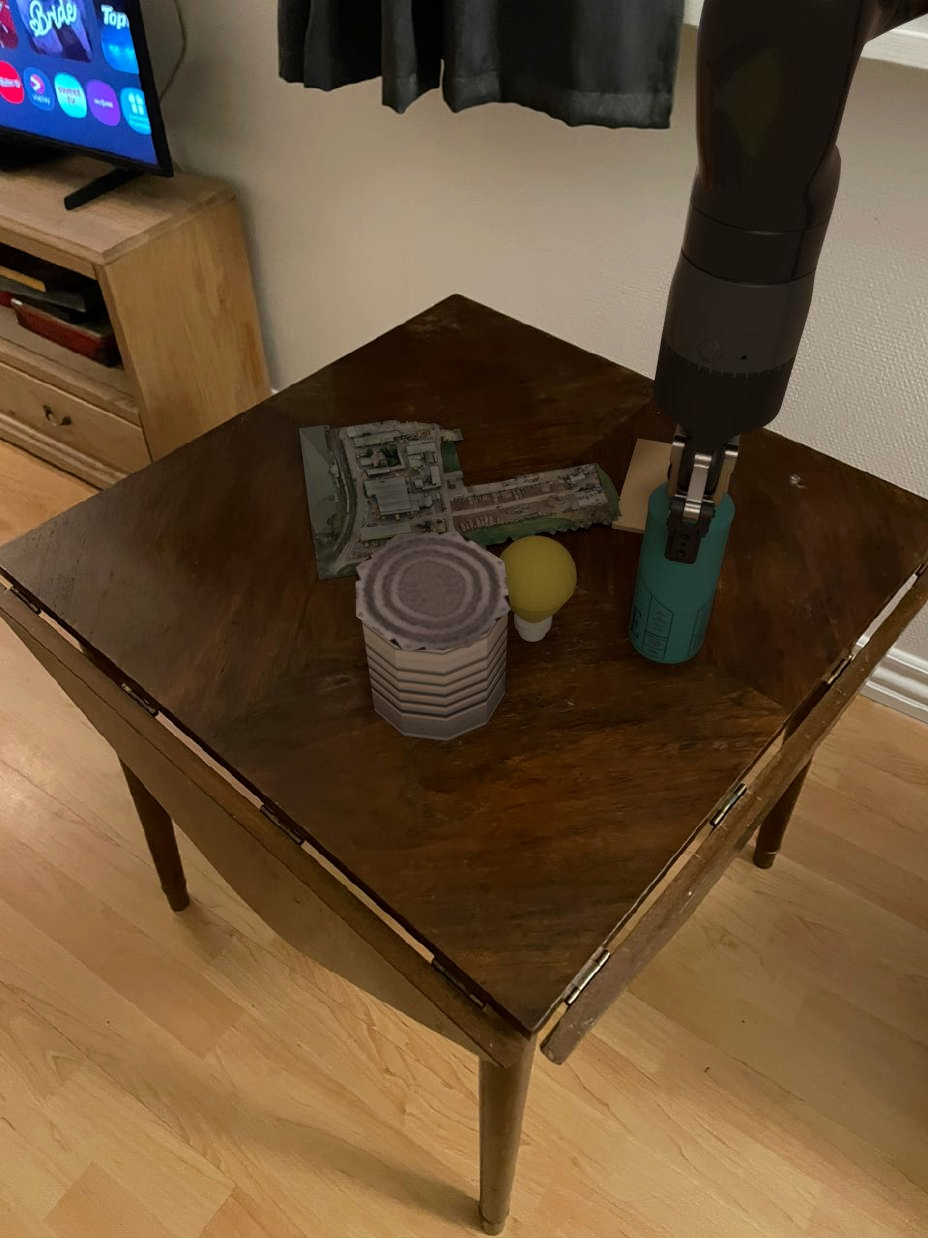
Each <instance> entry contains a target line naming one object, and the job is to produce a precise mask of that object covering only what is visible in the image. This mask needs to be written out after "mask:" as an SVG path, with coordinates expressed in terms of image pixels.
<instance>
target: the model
mask: <svg viewBox="0 0 928 1238" xmlns="http://www.w3.org/2000/svg"><path fill="white" fill-rule="evenodd" d="M461 431H462V430H461V428H460V427H458V428H455V429H450V428H447V427H446V428H445V427H444V426H442V425H440V424H437V423H435V422H431V423H426V422H425V423H423V422H417V420H414V421H408V420H407V419H405V422H400V421H399V420H397V419H392V420H385V421H382V422H381V421H377V422H371V423H370V422H369V423H363V424H356V425H349V426H343V427H336V428H330V425H329V424H320V425H313V426H306V427H300V428H298V432H299V440H300V447H301V455H302V463H303V471H304V479H305V480H304V481H305V487H306V494H307V503H308V510H309V519H310V527H311V536H312V543H313V544H314V552H315V553H314V554H315V561H316V569H317V577H318V581H324V580H330V579H335V578H341V577H348V576H354V575H355V576H356V567H357V566H358V565H360V564H361V563H362V562H363V561H365V560H366V559H367V558H368V557H370V556H371V555H372V554H373V553H375V552H376V551H377V550H378V549H380V548H381V547H382V546H383V545H385V544H386V543H387V542H388V541H390V540H391V539H392V538H393V537H395V536H396V535H397V534H408V533H434V532H459V533H461V534H462V535H464V536H465V537H467V538H468V539H470V540H471V541H473V542H475V543H476V544H478V545H479V546H481V547H482V548H484V549H485V550H487V551H488V549H487V546H490V545H491V546H492V545H496V544H497V545H498V544H503V543H505V542H506V541H508V539H509V538H511V540H512V541H513V542H515V541H517V540H519V539H521V538H524V537H528V536H537V535H536V534H541V533H548V534H550V535H555V534H556V532H557V531H559V532H562V533H564V534H566V532H567V531H568V529H570V530H572V531H573V532H577V531H578V530H579V528H582V529H585V530H588V529H589V528H590V527H591V526H592V524H598V523H599V524H603V525H606V526H608V527H610V526H611V525H612V522H613V521H618V516H622V514H621V512H620V508H619V504H618V502H619V501H620V500H621V499H620V496H619V493H618V491H617V489H616V487H615V485H614V483H613V481H612V478H611V476H610V475H609V474H607V473H606V472H605V471H604V470H603V469H602V468H601V467H600V464H599V463H598V462H592V463H586V464H583V465H577V466H573V467H572V466H571V467H566V468H559V469H552V470H545V471H539V472H533V473H525V474H519V475H514V477H515V478H510V479H507V480H502V481H495V482H490V483H483V484H477V485H470V486H467V485H465V484H464V481H463V478H465V475H464V472H463V468H462V466H461V461H460V458H459V455H458V452H457V449H456V448H458V446H457V445H455V442H458V441H463V440H464V438H463V435H462V432H461Z"/></svg>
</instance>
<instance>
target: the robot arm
mask: <svg viewBox="0 0 928 1238" xmlns="http://www.w3.org/2000/svg"><path fill="white" fill-rule="evenodd" d="M926 15H928V0H703V2H702V8H701V12H700V18H699V24H698V31H697V39H696V50H695V68H694V69H695V72H694V73H695V74H694V81H695V82H694V90H695V91H694V93H695V94H694V99H695V100H694V105H695V106H694V108H695V109H694V111H695V113H694V130H695V132H694V133H695V143H696V154H697V155H696V157H697V159H696V161H697V162H696V168H695V171H694V176H693V179H692V184H691V188H690V193H689V194H690V195H689V201H688V207H687V213H686V219H685V224H684V232H683V236H682V242H681V246H680V251H679V255H678V259H677V261H676V264H675V268H674V271H673V273H672V278H671V281H670V286H669V291H668V295H667V301H666V307H665V314H664V320H663V324H662V325H663V326H662V332H661V339H660V344H659V349H658V355H657V362H656V368H655V373H654V378H653V379H654V380H653V385H652V393H653V399H654V401H655V403H656V404H657V407H658V409H659V410H660V411H661V412H662V413H663V414H664V415H665V416H666V417H667V418H668V419H669V420H671V421H673V422H675V423H676V429H675V433H674V435H673V439H672V443H671V444H672V448H671V453H670V458H669V460H670V463H671V464H672V470H671V475H670V480H669V485H668V490H667V495H668V496H669V497H670V498H672V499H673V501H672V502H671V501H670V503H669V508H668V510H669V514H668V515H670V516H669V518H668V517H667V522H666V525H668V528H667V531H669V533H668V538H667V543H666V547H665V552H664V557H665V558H666V559H667V560H670V561H674V562H680V563H685V564H693V563H695V562H696V559H697V555H698V551H699V547H700V543H701V539H702V538H705V536H706V534H707V533H708V532H709V528H710V523H711V520H712V518H715V513H716V510H714V506H717V505H719V504H720V503H721V501H722V497H723V493H724V489H725V485H726V481H727V478H728V475H729V474H730V473H731V474H732V473H733V472H734V471H735V468H736V463H737V460H738V456H739V452H740V447H741V446H740V445H741V444H740V440H741V436H742V435H744V434H750V433H754V432H756V431H758V430H761V429H763V428H765V427H767V426H768V425H770V424H771V423H772V422H774V420H775V419H776V418H777V416H778V415H779V413H780V411H781V410H782V406H783V403H784V399H785V396H786V393H787V389H788V385H789V382H790V379H791V376H792V372H793V368H794V366H795V361H796V358H797V355H798V351H799V348H800V343H801V340H802V337H803V333H804V331H805V327H806V324H807V320H808V317H809V313H810V309H811V305H812V300H813V295H814V288H815V278H816V273H817V268H818V263H819V260H820V257H821V253H822V250H823V246H824V242H825V239H826V236H827V232H828V229H829V225H830V222H831V219H832V216H833V212H834V208H835V204H836V199H837V195H838V192H839V188H840V187H839V186H840V181H841V175H842V174H841V172H842V157H841V154H840V149H839V147H838V146H837V142H838V141H837V140H838V137H839V133H840V129H841V126H842V122H843V118H844V113H845V109H846V105H847V101H848V97H849V93H850V90H851V87H852V83H853V79H854V76H855V73H856V70H857V68H858V64H859V61H860V58H861V56H862V53H863V50H864V48H865V45H867V44H868V43H869V42H870V41H873V40H874V39H876V38H878V37H881V36H882V35H885V34H886V33H888V32H890V31H892V30H895V29H896V28H898V27H901V26H903V25H905V24H908V23H909V22H912V21H914V20H917V19H919V18H921V17H924V16H926Z"/></svg>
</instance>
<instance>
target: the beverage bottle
mask: <svg viewBox="0 0 928 1238" xmlns="http://www.w3.org/2000/svg"><path fill="white" fill-rule="evenodd" d="M671 470H672V464H671V463H670V465H669V467H668V472H667V478H668V481H667V482H665V483H663V484H661V485H659V486H658V487H657V488H655V489H654V490H653V492H652V493H651V495H650V497H649V500H648V512H647V518H646V524H645V530H644V534H643V535H642V537H641V538H642V541H641V542H642V543H639V546H641V548H640V553H639V557H638V564H637V570H635V573H636V577H635V578H634V580H633V582H634V587H633V591H632V595H631V598H630V599H631V600H630V604H629V609H628V614H630V615H628V616H627V619H629V620H628V621H627V625H626V627H628V628H627V632H626V633H627V636H628V638H629V640H630V644H631V645H632V647H633V648H634V649H635V650H636V651H637V653H639V654H640V655H641V656H642V657H644V658H646V659H648V660H651V661H652V662H653V661H654V662H656V663H661V664H679V663H684V662H686V661H689V660H691V659H692V658H693V657H694V656H695V655H697V653H699V651H700V650H701V649H702V648H703V646H704V645H705V643H704V642H705V640H706V639H705V637H707V634H706V633H708V630H707V629H710V626H708V625H710V623H711V622H709V621H712V620H711V619H712V618H710V617H712V616H713V612H714V607H715V599H716V598H715V597H717V594H716V593H718V588H719V587H720V584H719V581H721V579H720V578H721V576H720V574H721V570H722V565H723V559H724V555H725V551H726V547H727V542H728V538H729V534H730V530H731V527H732V526H731V525H732V522H733V521H734V518H735V513H736V512H735V511H736V509H735V504H734V501H733V499H732V498H731V496H730V495H729V494H728V492H727V493H726V492H725V491H724V493H723V497H722V501H721V503H720V504H719V505H717V506H714V510H716V513H715V518H712V520H711V523H710V528H709V532H708V533H707V534H706V536H705V538H702V539H701V543H700V547H699V551H698V555H697V559H696V562H695V563H693V564H685V563H680V562H674V561H670V560H667V559H666V558H665V557H664V552H665V547H666V543H667V538H668V533H669V531H667V528H668V525H666V522H667V517H668V518H669V516H670V515H668V514H669V510H668V508H669V503H670V501H671V502H672V501H673V499H672V498H670V497H669V496H668V495H667V490H668V485H669V480H670V475H671Z"/></svg>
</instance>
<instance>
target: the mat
mask: <svg viewBox="0 0 928 1238" xmlns="http://www.w3.org/2000/svg"><path fill="white" fill-rule="evenodd" d="M671 448H672V443H667V442H663V441H656V440H650V439H645V438H640V437H639V438H637V439H636V441H635V446H634V449H633V452H632V456H631V460H630V462H629V466H628V469H627V473H626V475H625V479H624V483H623V486H622V489H621V492H620V496H619V497H620V499H621V500H620V501H617V502H618V504H619V508H620V512H621V514H622V516H618V521H613V522H612V523H611V529H613V530H619V531H624V532H630V533H635V534H639V535H644V530H645V524H646V518H647V512H648V500H649V497H650V495H651V493H652V492H653V490H654V489H655V488H657V487H658V486H659V485H661V484H663V483H665V482H667V481H668V478H667V472H668V467H669V465H670V460H669V458H670V453H671ZM731 474H732V473H730V474H729V475H728V478H727V481H726V485H725V489H724V491H725V492H726V493H727V494H728V490H729V485H730V480H731Z"/></svg>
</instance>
